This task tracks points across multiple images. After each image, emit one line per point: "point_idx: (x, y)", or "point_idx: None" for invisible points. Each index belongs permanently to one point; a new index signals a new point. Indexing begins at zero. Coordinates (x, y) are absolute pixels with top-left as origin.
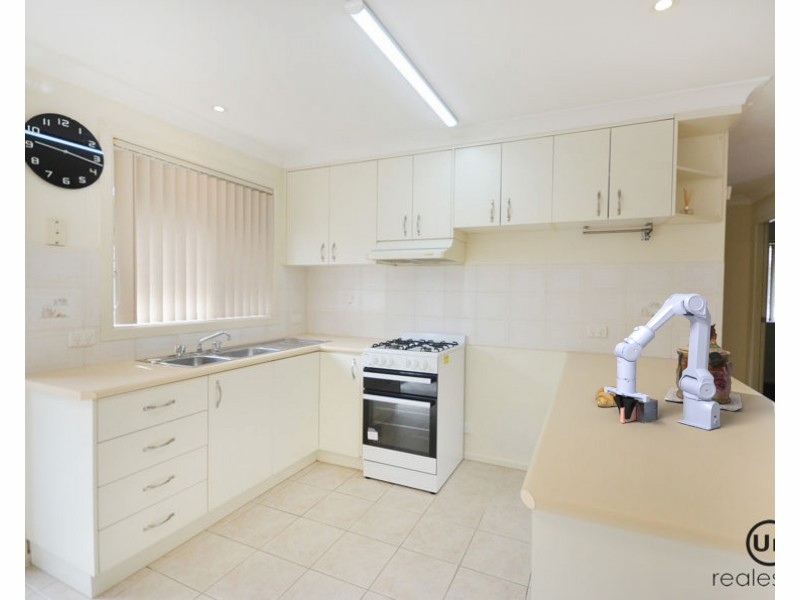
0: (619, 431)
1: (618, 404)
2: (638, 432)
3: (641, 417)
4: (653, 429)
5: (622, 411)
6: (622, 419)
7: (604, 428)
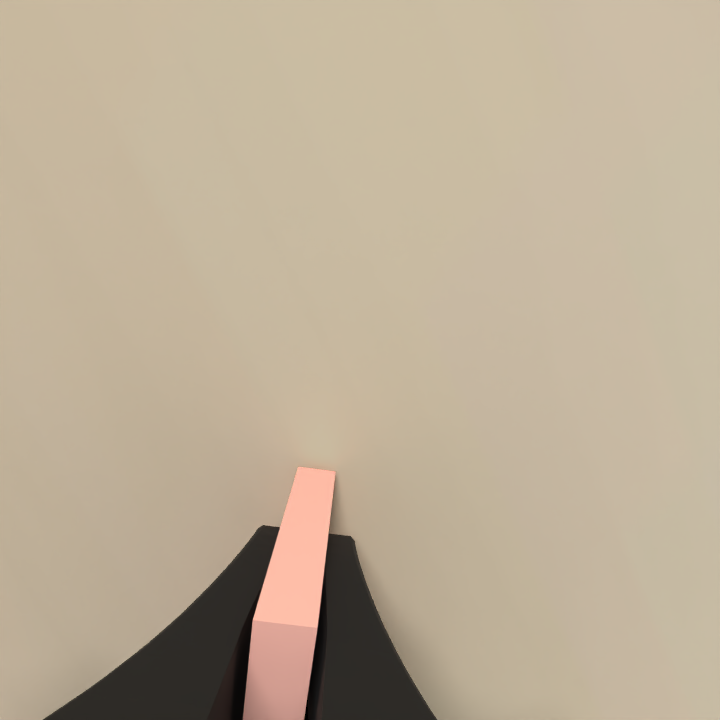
0: (159, 97)
1: (369, 703)
2: (15, 282)
3: None
4: (8, 533)
5: (284, 574)
6: (301, 490)
7: (349, 40)
